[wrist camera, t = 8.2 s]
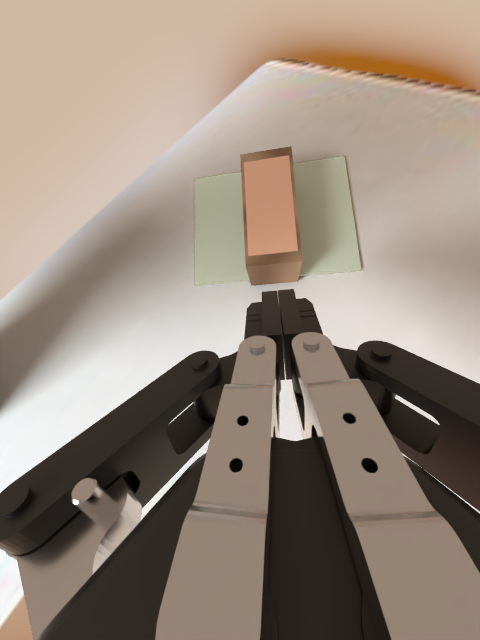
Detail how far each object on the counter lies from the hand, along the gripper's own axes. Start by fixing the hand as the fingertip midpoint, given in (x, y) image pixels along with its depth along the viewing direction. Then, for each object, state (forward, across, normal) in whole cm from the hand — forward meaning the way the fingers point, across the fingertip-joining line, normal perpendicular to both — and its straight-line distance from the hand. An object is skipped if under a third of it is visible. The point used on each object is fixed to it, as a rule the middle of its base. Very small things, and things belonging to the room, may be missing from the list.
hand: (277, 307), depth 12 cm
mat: (+20, 0, 0) cm, 20 cm away
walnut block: (+12, 0, +4) cm, 13 cm away
